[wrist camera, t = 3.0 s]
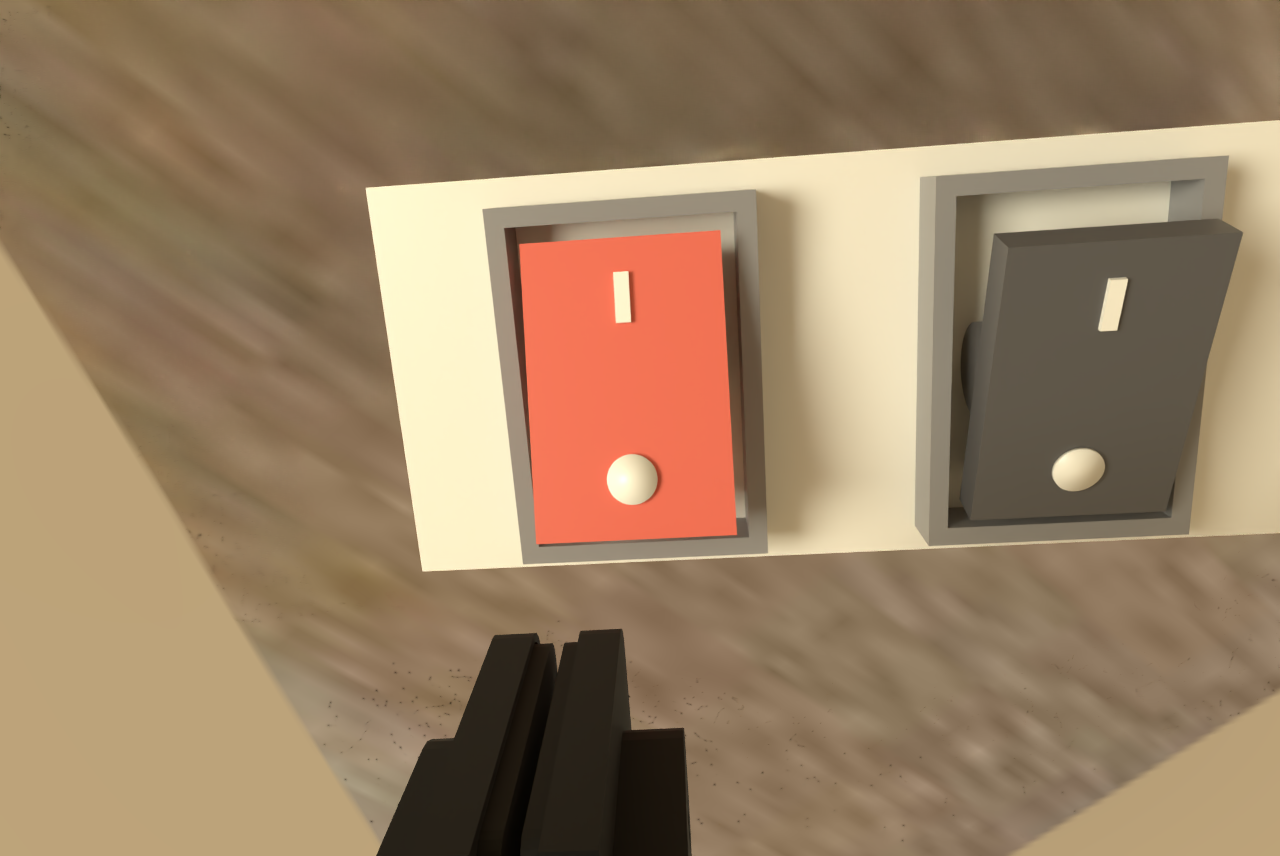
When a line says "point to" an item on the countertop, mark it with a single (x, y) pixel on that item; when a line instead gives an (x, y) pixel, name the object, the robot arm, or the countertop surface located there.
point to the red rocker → (628, 388)
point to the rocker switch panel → (825, 335)
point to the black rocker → (1089, 366)
